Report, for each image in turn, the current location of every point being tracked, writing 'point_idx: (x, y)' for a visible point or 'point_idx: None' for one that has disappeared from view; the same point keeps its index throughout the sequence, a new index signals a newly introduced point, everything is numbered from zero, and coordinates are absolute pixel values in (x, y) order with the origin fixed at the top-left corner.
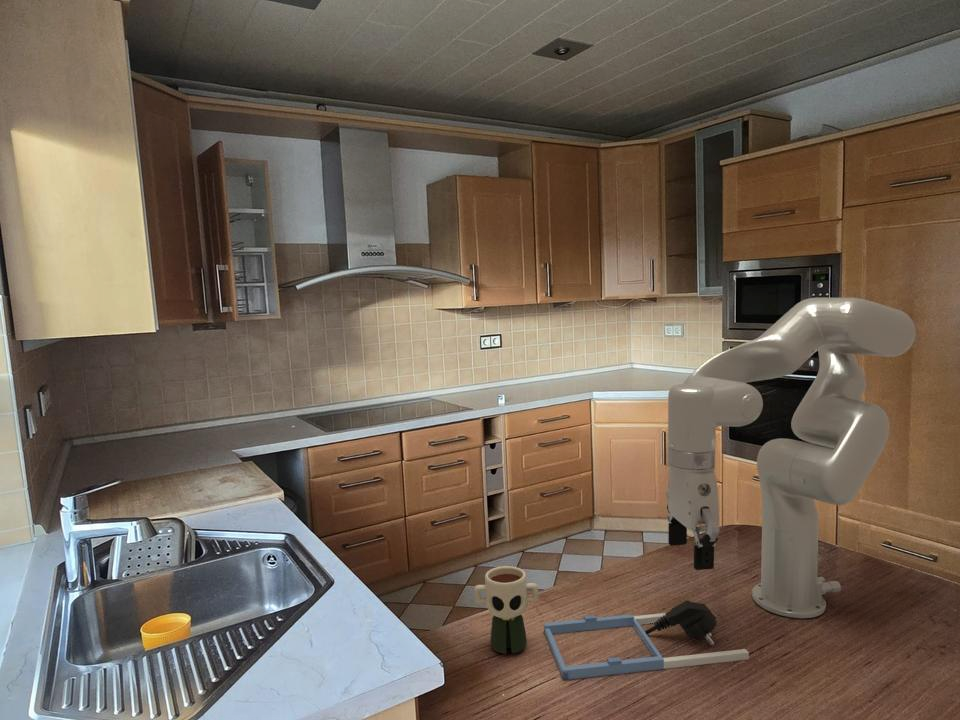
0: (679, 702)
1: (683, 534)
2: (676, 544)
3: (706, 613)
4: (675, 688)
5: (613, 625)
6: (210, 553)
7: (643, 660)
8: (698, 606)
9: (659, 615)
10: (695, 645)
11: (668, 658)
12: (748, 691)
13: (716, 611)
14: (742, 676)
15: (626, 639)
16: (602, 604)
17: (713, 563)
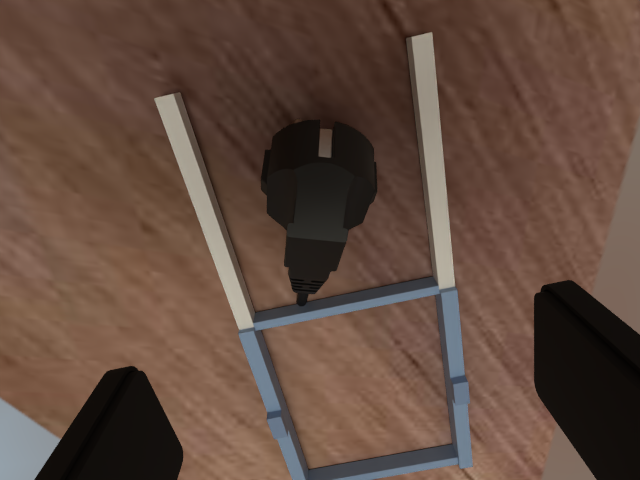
0: (570, 265)
1: (117, 456)
2: (168, 427)
3: (357, 173)
4: (522, 264)
5: (271, 364)
6: None
7: (455, 332)
8: (323, 197)
9: (224, 261)
10: None
11: (441, 273)
12: (568, 89)
13: (129, 54)
14: (503, 84)
15: (322, 338)
16: (157, 375)
17: (588, 297)
